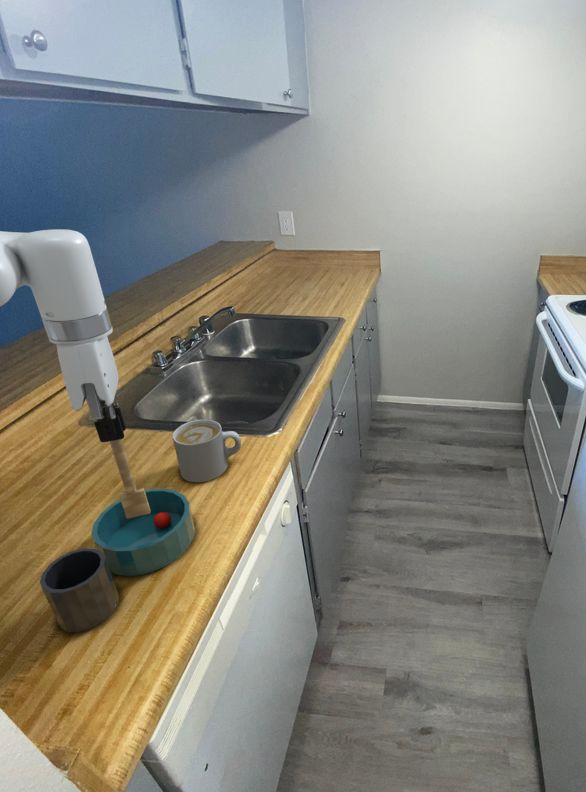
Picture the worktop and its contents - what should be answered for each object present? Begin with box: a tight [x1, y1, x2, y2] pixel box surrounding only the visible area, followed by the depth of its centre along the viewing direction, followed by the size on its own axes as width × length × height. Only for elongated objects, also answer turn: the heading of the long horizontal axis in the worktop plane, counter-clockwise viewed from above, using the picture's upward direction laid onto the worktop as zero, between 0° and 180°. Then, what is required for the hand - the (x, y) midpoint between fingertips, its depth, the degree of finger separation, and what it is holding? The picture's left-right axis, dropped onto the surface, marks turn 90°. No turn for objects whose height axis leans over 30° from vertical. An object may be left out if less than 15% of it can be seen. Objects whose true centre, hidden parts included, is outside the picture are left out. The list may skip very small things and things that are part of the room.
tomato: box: [154, 512, 171, 529], centre depth 90 cm, size 3×3×3 cm
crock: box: [39, 547, 120, 633], centre depth 73 cm, size 8×8×9 cm
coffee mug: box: [172, 419, 242, 483], centre depth 105 cm, size 13×10×10 cm
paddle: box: [101, 406, 151, 519], centre depth 76 cm, size 4×2×22 cm, turn 113°
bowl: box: [91, 488, 196, 577], centre depth 87 cm, size 16×16×6 cm
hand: (113, 435), depth 73 cm, fingers closed on paddle, 1 cm apart
